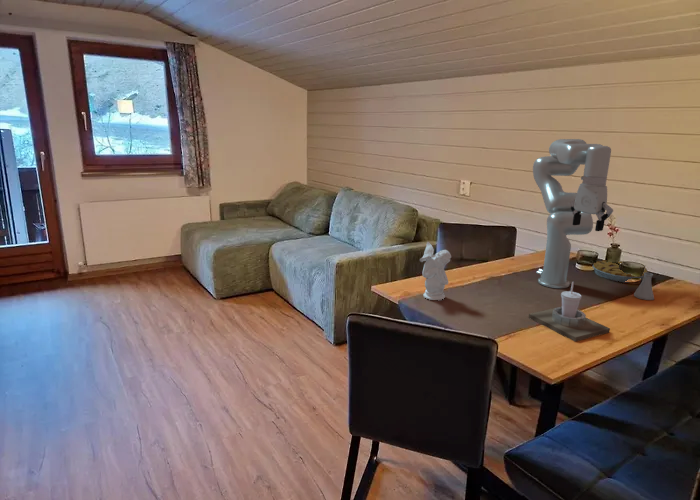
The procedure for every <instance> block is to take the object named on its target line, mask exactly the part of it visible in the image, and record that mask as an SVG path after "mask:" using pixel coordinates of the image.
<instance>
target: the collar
mask: <svg viewBox="0 0 700 500" xmlns="http://www.w3.org/2000/svg"><path fill="white" fill-rule="evenodd" d="M585 317H586V313H585V312H584V311H582V310H579V309H577V312H576V315H575V318H570V317H565V316H562V306H558V308H557V307H554V310H553V314H552V319H553V321H554V322H556V323H558V324H560V325H563V326H567V327H581V326H583V325H584V323H585ZM586 318H587V317H586Z"/></svg>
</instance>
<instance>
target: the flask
mask: <svg viewBox="0 0 700 500" xmlns="http://www.w3.org/2000/svg"><path fill="white" fill-rule="evenodd" d="M653 276H654V274H653V273H651V272H648V273H644V278H643V280H641V281H640V284H639V286H637V288H636V289H635V292H634V293H633V296H634V297H635V298H637V299H640V300H646V301H654V300H655V295H654V291H653V287H652V277H653Z"/></svg>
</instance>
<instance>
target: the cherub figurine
mask: <svg viewBox="0 0 700 500" xmlns="http://www.w3.org/2000/svg"><path fill="white" fill-rule="evenodd" d="M425 246H426V247H425V249H424V252H423V256H422V257H421V258H420V259H419V262H420V263H423V262H424V264H423V269H422V271H421V272H422V277H423V278H425V281H424V288H425V292H424V293H423V298H424V299H425V298H426V299H425V300H427V299H429V300H428V301H430V300H438V301H443V300H445V299H444V298H446V295H445V293H444V289H445V287H446V286H448V285H449V279H448V276H447V273H446V271H445V267H446V265H447V264H449V263H450V262H451V258H452V255H451V252H450V251H449V250H448V249H441V250H439V251H438V252H436V253H435V254H434V252H435V249H434V247H433V245H432V244H431V243H430V242H429V241H427V242H426V244H425ZM442 299H443V300H442Z"/></svg>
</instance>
